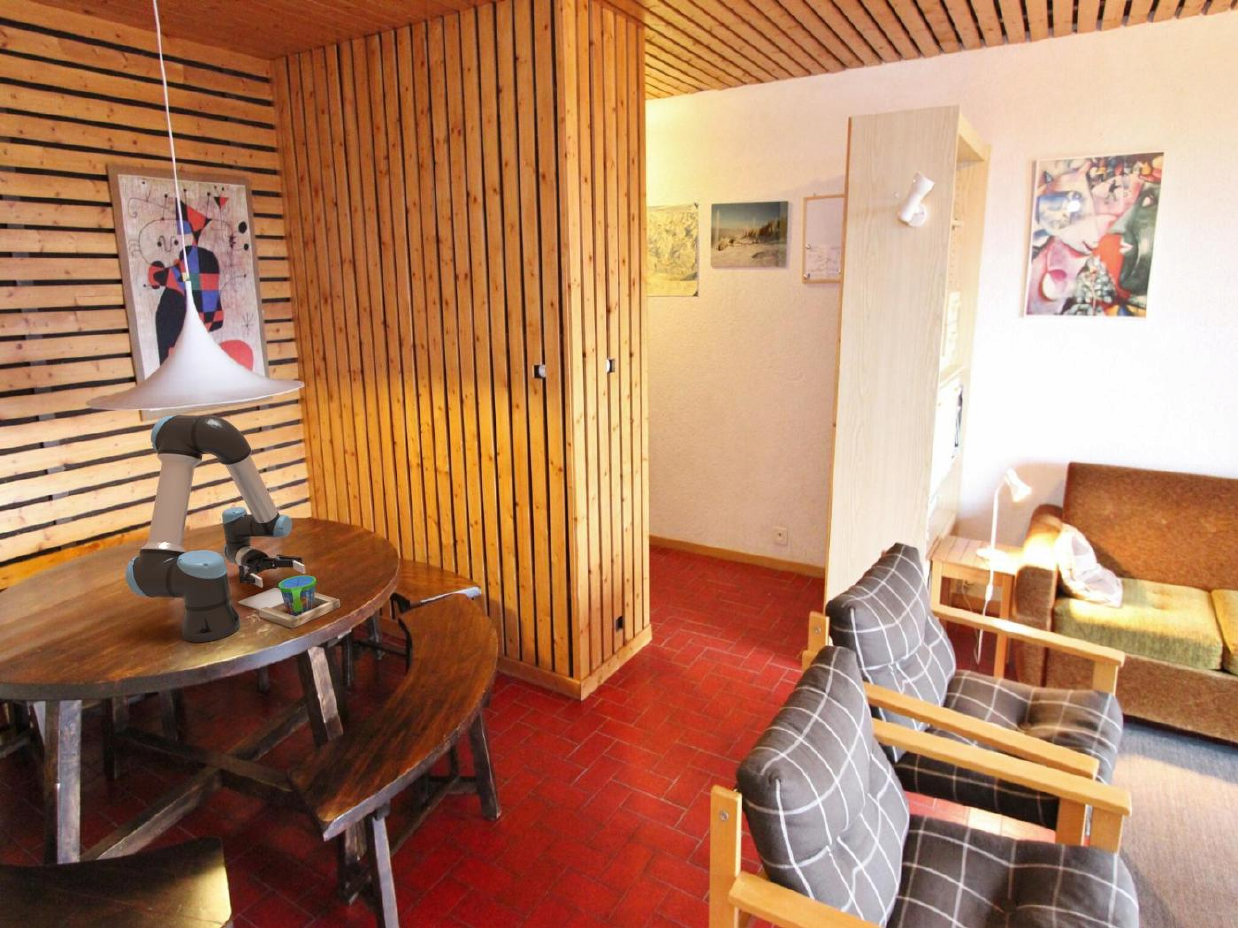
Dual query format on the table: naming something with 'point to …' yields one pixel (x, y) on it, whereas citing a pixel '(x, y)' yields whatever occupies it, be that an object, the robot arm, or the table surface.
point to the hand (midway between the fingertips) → (283, 576)
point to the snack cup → (298, 594)
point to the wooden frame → (292, 621)
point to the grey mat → (264, 599)
